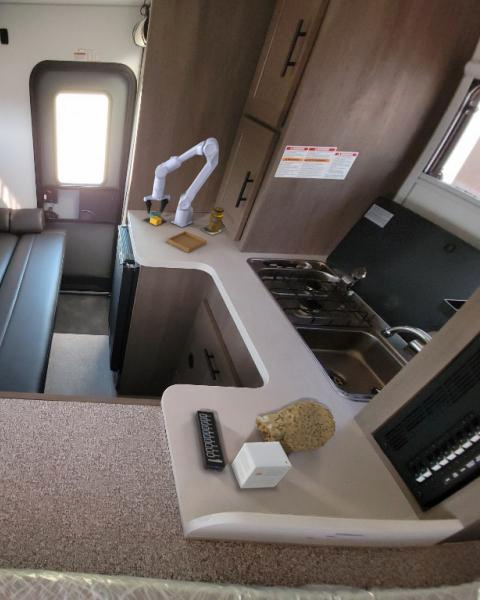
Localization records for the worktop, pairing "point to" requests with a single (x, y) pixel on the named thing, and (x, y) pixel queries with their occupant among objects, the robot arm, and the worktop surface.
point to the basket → (186, 241)
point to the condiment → (214, 221)
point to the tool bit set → (209, 441)
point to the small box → (260, 464)
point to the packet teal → (154, 214)
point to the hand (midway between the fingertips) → (154, 212)
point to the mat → (151, 223)
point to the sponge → (298, 427)
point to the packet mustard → (155, 220)
